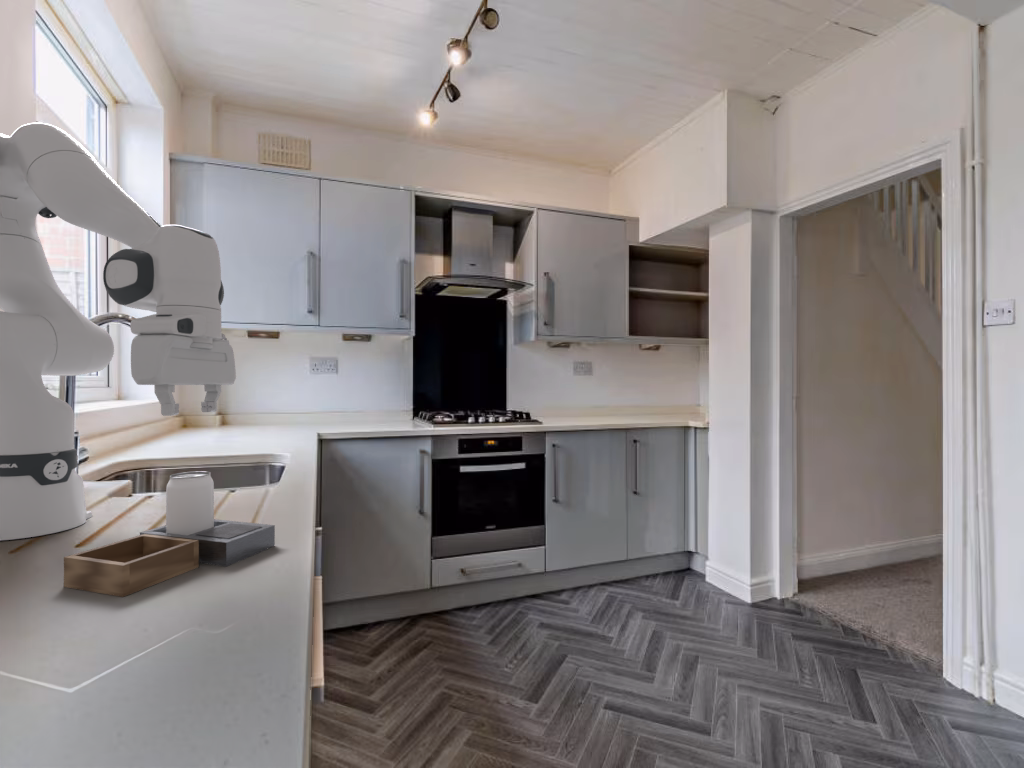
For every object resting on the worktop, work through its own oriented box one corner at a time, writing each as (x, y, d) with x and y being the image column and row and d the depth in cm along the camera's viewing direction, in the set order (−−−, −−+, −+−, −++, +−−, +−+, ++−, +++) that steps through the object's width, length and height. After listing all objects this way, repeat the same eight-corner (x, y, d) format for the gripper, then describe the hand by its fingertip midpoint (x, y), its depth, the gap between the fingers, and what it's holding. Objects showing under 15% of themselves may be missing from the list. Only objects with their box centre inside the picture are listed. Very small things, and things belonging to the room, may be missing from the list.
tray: (139, 555, 78) (139, 531, 78) (194, 537, 87) (194, 516, 87) (226, 566, 73) (226, 542, 73) (274, 546, 82) (274, 524, 82)
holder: (63, 586, 66) (63, 557, 66) (144, 559, 76) (144, 533, 76) (122, 597, 62) (122, 565, 62) (198, 567, 73) (198, 540, 73)
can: (191, 556, 77) (191, 478, 77) (155, 554, 78) (155, 477, 78) (223, 543, 83) (223, 471, 83) (190, 541, 85) (190, 470, 85)
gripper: (210, 334, 91) (211, 410, 91) (120, 320, 71) (121, 417, 71) (244, 334, 91) (245, 410, 91) (164, 319, 71) (165, 417, 71)
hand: (190, 413), depth 81 cm, fingers open, 8 cm apart
